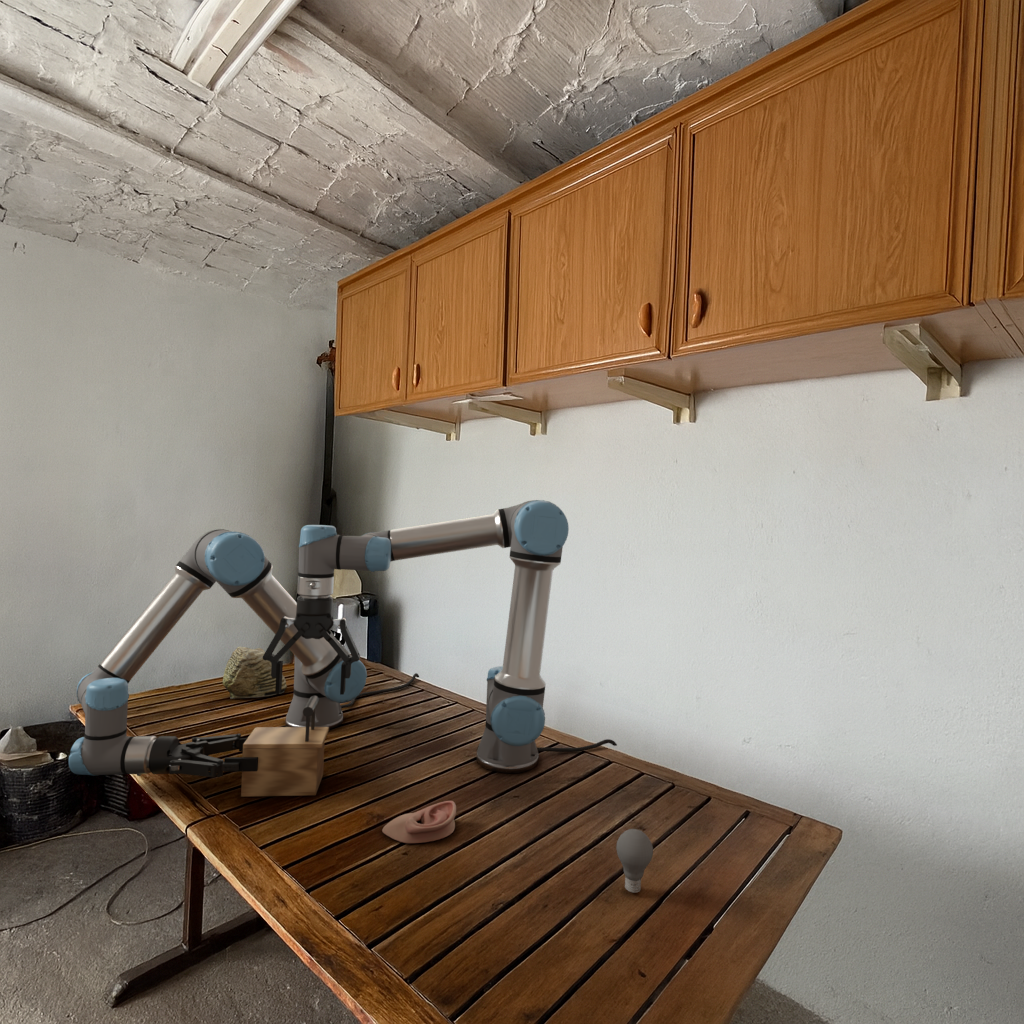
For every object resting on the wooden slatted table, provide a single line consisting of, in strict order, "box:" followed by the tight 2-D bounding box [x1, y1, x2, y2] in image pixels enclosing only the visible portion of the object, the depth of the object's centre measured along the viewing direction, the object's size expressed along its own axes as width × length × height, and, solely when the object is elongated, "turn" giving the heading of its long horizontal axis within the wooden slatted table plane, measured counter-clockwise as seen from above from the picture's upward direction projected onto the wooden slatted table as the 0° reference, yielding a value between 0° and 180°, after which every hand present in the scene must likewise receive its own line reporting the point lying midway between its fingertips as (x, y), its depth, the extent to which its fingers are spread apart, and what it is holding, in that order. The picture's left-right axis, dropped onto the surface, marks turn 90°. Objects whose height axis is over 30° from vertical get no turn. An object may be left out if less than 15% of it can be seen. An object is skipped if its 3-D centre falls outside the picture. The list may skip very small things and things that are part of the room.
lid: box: [243, 696, 330, 748], centre depth 138 cm, size 16×10×8 cm, turn 98°
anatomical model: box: [381, 800, 457, 844], centre depth 122 cm, size 13×4×12 cm
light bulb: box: [615, 828, 654, 894], centre depth 106 cm, size 6×6×10 cm
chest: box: [240, 742, 325, 798], centre depth 138 cm, size 15×10×10 cm, turn 98°
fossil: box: [222, 646, 288, 699], centre depth 198 cm, size 9×18×15 cm, turn 132°
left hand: (263, 753), depth 137 cm, fingers closed on chest, 10 cm apart
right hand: (310, 692), depth 138 cm, fingers open, 13 cm apart
